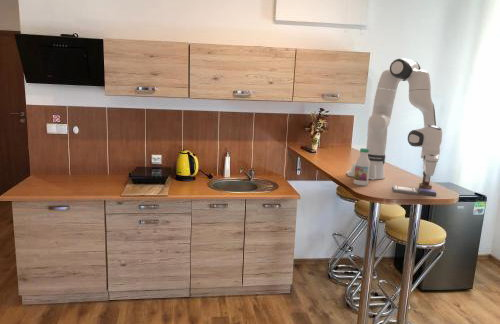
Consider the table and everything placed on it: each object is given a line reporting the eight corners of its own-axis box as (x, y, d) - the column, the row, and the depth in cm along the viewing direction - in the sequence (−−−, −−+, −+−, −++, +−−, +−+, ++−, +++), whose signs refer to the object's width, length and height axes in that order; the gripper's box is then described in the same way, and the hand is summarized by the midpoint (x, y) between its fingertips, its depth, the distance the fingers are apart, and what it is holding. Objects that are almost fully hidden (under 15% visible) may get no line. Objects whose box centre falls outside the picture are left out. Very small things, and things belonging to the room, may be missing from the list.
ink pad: (419, 194, 206) (419, 190, 205) (418, 191, 211) (418, 187, 211) (436, 196, 203) (436, 192, 203) (434, 193, 209) (435, 189, 209)
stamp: (419, 189, 215) (422, 169, 212) (418, 187, 219) (421, 167, 216) (431, 191, 213) (434, 170, 211) (430, 189, 217) (433, 169, 215)
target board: (393, 191, 208) (393, 189, 207) (392, 187, 217) (392, 184, 217) (417, 194, 204) (418, 192, 204) (415, 190, 214) (416, 187, 213)
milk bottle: (357, 181, 225) (361, 147, 221) (370, 184, 220) (374, 149, 217) (351, 183, 220) (354, 148, 216) (364, 186, 215) (368, 150, 211)
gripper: (421, 152, 223) (418, 175, 225) (425, 157, 204) (421, 183, 206) (434, 153, 221) (430, 177, 224) (438, 159, 202) (434, 185, 204)
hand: (426, 180), depth 215 cm, fingers closed on stamp, 4 cm apart
